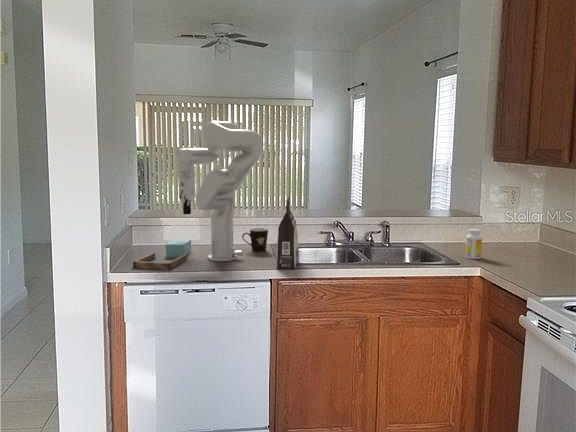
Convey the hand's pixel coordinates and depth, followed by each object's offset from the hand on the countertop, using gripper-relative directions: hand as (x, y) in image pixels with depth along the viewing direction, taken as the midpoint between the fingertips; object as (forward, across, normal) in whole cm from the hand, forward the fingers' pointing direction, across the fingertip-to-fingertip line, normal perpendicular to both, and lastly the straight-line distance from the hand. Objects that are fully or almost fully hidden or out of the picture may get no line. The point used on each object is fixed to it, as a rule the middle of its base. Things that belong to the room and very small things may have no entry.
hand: (187, 213), depth 247 cm
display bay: (+17, -30, 0) cm, 34 cm away
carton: (+17, -11, 0) cm, 21 cm away
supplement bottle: (+17, +11, -131) cm, 133 cm away
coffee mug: (+17, +5, -32) cm, 37 cm away
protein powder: (+17, -20, -52) cm, 58 cm away
